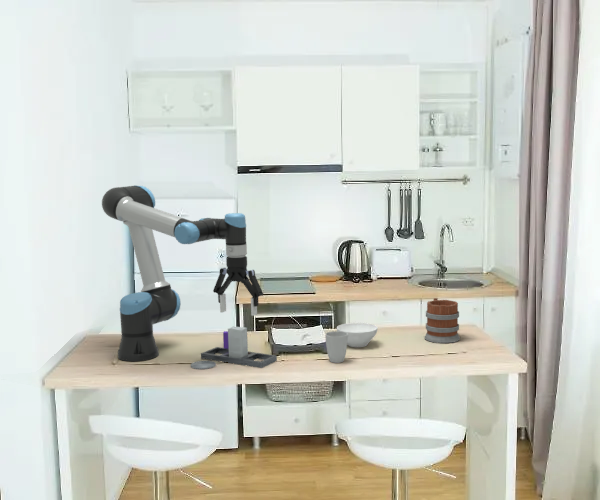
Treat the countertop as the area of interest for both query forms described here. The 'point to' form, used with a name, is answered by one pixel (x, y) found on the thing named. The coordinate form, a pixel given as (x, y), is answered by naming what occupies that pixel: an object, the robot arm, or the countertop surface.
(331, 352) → the cup
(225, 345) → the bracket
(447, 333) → the mug
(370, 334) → the bowl
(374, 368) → the countertop surface
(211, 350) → the dark gray compartment tray
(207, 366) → the coaster
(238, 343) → the skincare box
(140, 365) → the countertop surface
